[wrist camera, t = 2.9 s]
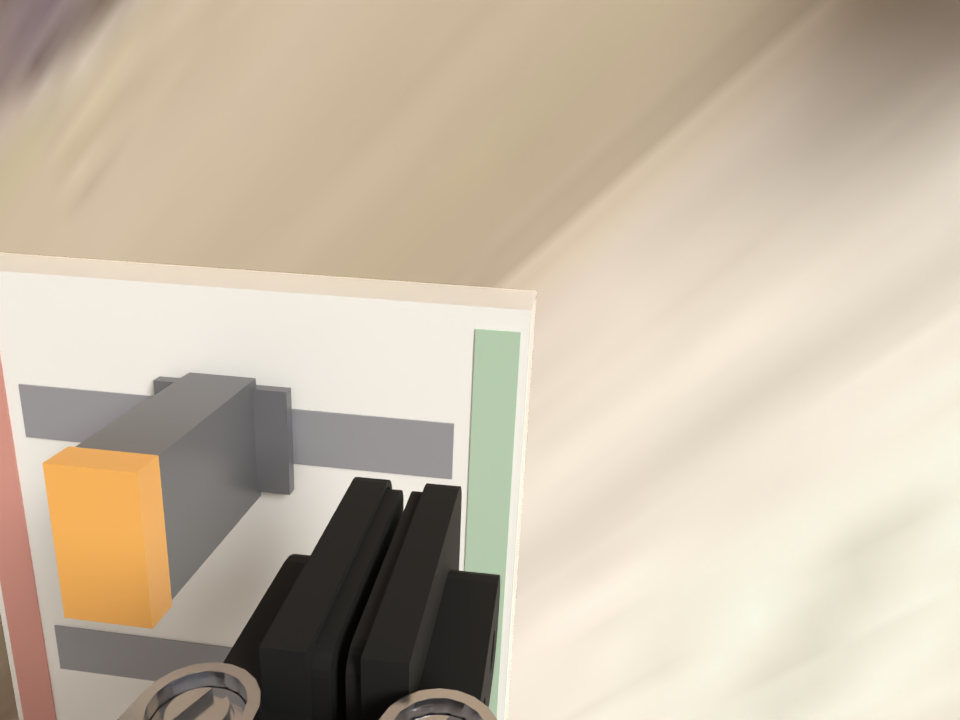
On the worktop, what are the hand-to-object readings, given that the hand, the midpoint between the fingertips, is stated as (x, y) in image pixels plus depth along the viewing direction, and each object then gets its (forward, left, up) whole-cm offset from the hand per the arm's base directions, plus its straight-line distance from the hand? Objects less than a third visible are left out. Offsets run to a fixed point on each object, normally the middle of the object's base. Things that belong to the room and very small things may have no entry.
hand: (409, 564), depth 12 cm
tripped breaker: (+1, +6, -6) cm, 8 cm away
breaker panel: (-6, +8, -8) cm, 12 cm away
